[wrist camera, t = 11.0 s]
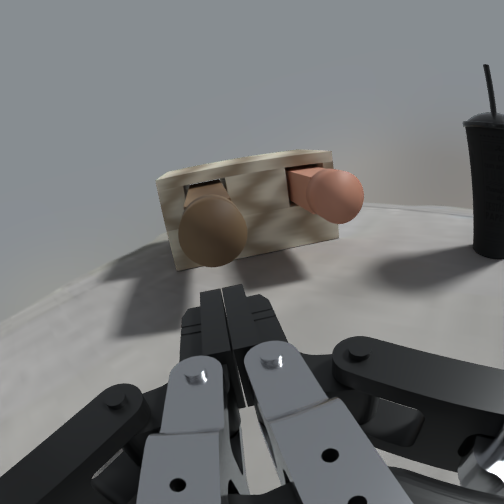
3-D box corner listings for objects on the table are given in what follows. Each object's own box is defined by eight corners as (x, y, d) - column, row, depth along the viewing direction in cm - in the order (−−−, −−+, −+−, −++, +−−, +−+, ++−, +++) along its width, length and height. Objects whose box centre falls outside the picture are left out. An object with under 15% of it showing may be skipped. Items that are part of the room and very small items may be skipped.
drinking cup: (503, 271, 20) (500, 54, 13) (450, 248, 27) (439, 61, 20) (528, 252, 22) (526, 71, 15) (481, 233, 29) (474, 73, 22)
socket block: (176, 271, 33) (155, 180, 30) (182, 240, 44) (167, 172, 41) (338, 237, 35) (331, 151, 32) (306, 215, 46) (298, 149, 43)
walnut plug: (186, 272, 20) (171, 208, 19) (191, 218, 36) (184, 181, 34) (252, 259, 21) (241, 194, 19) (229, 211, 36) (222, 173, 34)
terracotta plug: (318, 228, 25) (313, 174, 23) (272, 196, 40) (268, 163, 39) (364, 219, 25) (361, 168, 24) (304, 191, 41) (300, 159, 39)
